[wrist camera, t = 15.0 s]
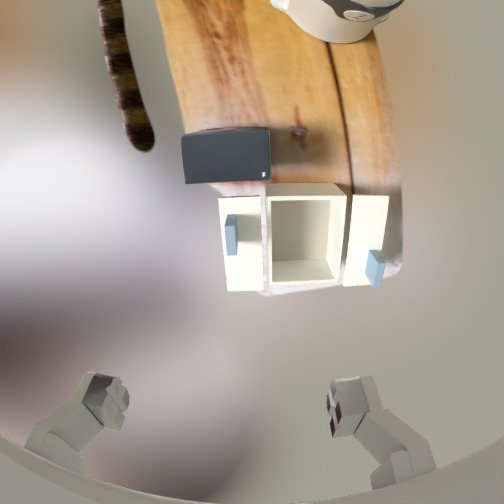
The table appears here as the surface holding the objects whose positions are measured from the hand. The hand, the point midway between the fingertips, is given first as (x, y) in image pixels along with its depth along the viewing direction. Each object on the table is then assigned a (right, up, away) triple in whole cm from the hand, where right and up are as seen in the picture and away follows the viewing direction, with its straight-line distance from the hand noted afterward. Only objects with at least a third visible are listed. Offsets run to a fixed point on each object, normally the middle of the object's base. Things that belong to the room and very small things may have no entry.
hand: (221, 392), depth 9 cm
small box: (-2, +21, +31) cm, 38 cm away
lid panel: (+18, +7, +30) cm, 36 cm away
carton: (+9, +10, +37) cm, 39 cm away
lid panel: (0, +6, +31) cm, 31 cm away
